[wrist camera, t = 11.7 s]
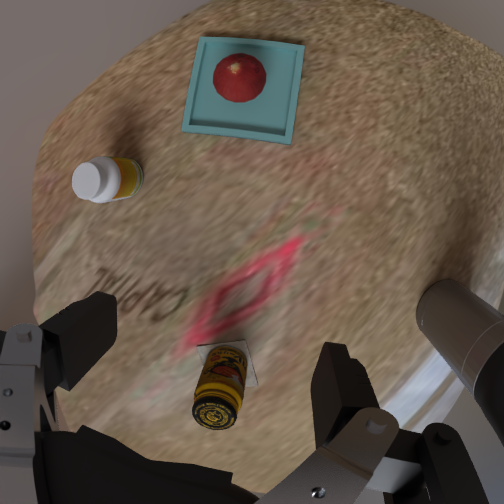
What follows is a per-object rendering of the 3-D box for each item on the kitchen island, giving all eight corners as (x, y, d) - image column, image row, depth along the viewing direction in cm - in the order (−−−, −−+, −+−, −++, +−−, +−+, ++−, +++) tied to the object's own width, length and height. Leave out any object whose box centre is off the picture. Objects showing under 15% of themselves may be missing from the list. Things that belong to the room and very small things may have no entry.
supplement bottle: (137, 151, 36) (98, 146, 26) (149, 189, 37) (111, 195, 28) (105, 167, 37) (62, 167, 27) (116, 203, 38) (74, 213, 28)
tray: (303, 50, 31) (304, 45, 30) (290, 145, 34) (290, 143, 33) (202, 41, 32) (199, 36, 30) (185, 132, 35) (181, 130, 33)
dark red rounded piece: (230, 61, 32) (219, 33, 24) (274, 74, 32) (273, 48, 24) (212, 100, 33) (195, 81, 25) (256, 115, 33) (251, 98, 25)
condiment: (245, 339, 41) (235, 394, 30) (258, 384, 43) (252, 442, 31) (196, 345, 42) (173, 398, 30) (212, 389, 44) (196, 444, 32)
